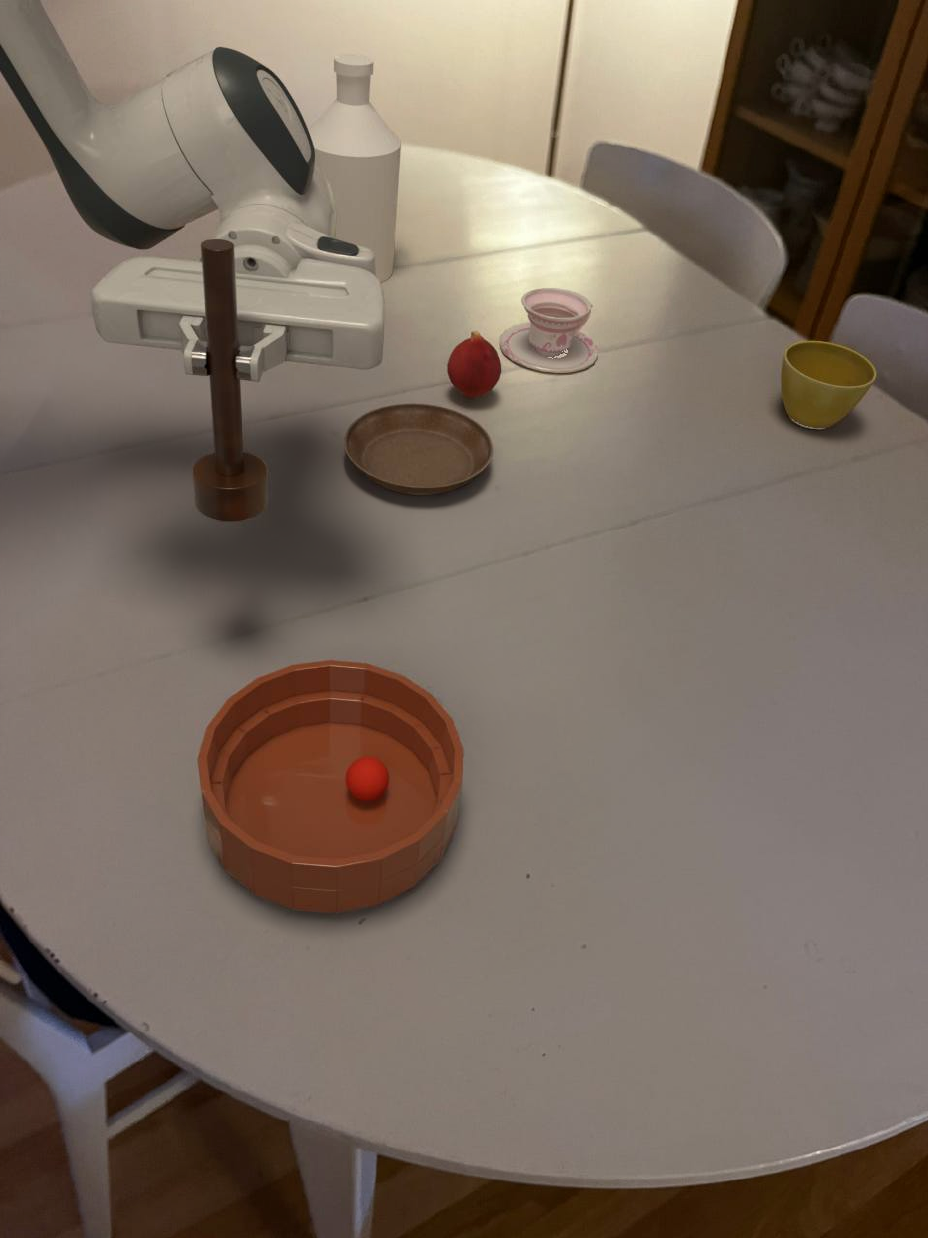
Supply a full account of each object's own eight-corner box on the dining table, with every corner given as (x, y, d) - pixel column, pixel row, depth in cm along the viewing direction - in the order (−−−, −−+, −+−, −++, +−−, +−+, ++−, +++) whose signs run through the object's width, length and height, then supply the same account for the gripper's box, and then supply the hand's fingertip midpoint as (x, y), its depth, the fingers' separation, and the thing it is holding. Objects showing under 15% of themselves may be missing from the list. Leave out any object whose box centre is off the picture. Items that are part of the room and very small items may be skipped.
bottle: (309, 287, 129) (307, 72, 112) (300, 248, 138) (297, 42, 121) (401, 287, 132) (412, 77, 115) (387, 248, 140) (396, 46, 123)
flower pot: (857, 450, 113) (881, 393, 108) (766, 433, 114) (785, 376, 109) (850, 405, 120) (872, 350, 116) (764, 389, 121) (783, 333, 116)
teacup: (526, 381, 117) (534, 331, 113) (482, 332, 125) (488, 284, 121) (615, 367, 122) (626, 319, 117) (568, 321, 129) (576, 274, 125)
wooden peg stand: (185, 515, 73) (161, 252, 61) (208, 478, 77) (189, 224, 65) (256, 526, 72) (247, 264, 60) (275, 488, 76) (270, 236, 65)
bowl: (179, 907, 65) (169, 853, 60) (233, 706, 77) (228, 650, 73) (449, 929, 65) (457, 877, 61) (459, 726, 78) (467, 672, 74)
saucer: (349, 510, 96) (350, 487, 94) (339, 425, 107) (339, 402, 105) (502, 507, 99) (505, 484, 97) (477, 424, 110) (479, 402, 108)
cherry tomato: (356, 808, 72) (329, 783, 70) (376, 773, 73) (350, 748, 72) (384, 810, 69) (357, 785, 68) (404, 774, 71) (378, 748, 69)
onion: (491, 384, 116) (499, 319, 111) (501, 411, 112) (510, 345, 106) (441, 384, 115) (447, 318, 110) (449, 412, 111) (455, 344, 105)
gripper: (116, 220, 75) (53, 306, 64) (395, 251, 75) (376, 340, 65) (127, 302, 79) (69, 394, 69) (391, 330, 80) (372, 425, 69)
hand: (221, 368), depth 67 cm, fingers closed on wooden peg stand
